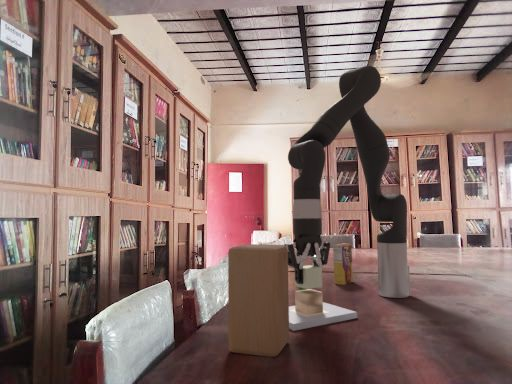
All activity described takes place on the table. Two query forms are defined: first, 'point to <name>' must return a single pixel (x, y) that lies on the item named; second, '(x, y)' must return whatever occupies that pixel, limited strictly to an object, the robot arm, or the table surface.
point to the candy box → (342, 263)
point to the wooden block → (258, 299)
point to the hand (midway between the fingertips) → (308, 282)
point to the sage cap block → (311, 277)
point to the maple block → (308, 301)
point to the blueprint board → (319, 317)
